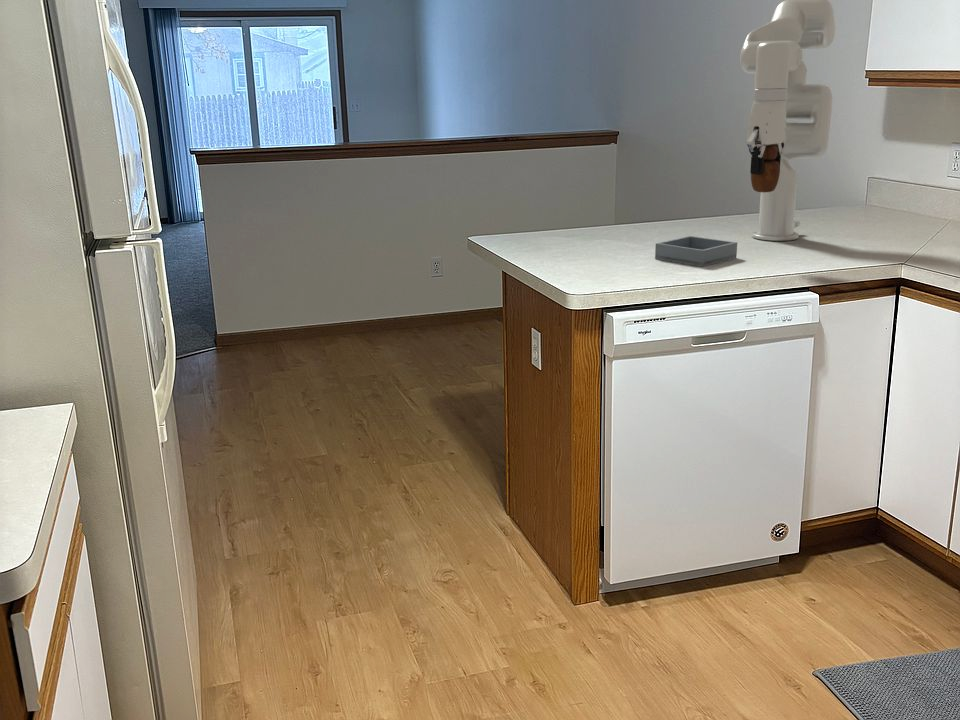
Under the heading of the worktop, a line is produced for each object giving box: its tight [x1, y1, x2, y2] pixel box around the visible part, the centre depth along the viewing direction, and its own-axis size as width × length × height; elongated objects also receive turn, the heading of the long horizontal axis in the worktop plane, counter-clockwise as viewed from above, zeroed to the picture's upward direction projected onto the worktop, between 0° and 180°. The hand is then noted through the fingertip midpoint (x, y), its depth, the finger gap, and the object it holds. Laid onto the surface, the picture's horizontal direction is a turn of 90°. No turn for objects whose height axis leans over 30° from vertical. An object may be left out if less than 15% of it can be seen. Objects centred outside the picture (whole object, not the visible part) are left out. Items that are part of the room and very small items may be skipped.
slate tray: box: [654, 235, 738, 267], centre depth 236 cm, size 15×15×4 cm
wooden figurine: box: [750, 143, 780, 193], centre depth 223 cm, size 7×6×15 cm
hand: (765, 171), depth 224 cm, fingers closed on wooden figurine, 6 cm apart
